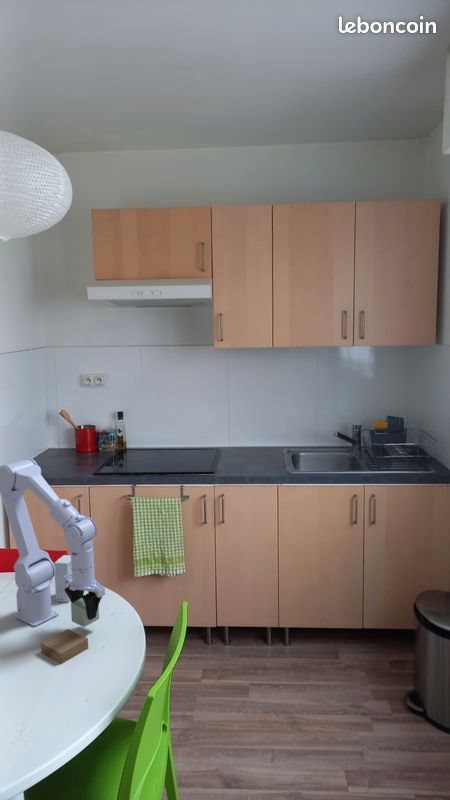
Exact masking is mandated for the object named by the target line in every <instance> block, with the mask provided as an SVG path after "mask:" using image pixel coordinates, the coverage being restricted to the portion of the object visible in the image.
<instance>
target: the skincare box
mask: <svg viewBox="0 0 450 800" xmlns="http://www.w3.org/2000/svg"><path fill="white" fill-rule="evenodd" d="M53 563H54V566H55V576H54V583H55V584H54V587H55V602H59V603H60V602H61V603H62V602H63V603H70V602H71V601H70V599H69V597H68V595H67V594H66V592H65V588H67V587H68V586H69V583H67V584H65V583H64V579H63V576H65V575H67V574H72V570H71V554H70V555H65V554H63V555H62V556H60V557H59V558H58V559H57V560H56V561H55V562H53Z"/></svg>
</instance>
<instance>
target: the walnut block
mask: <svg viewBox="0 0 450 800" xmlns="http://www.w3.org/2000/svg"><path fill="white" fill-rule="evenodd" d="M40 646H41V654H43V655H45V656H47V657H49V658H50V659H52V660H54V661H56V662H57V663H59V664H61V665H62V664H65V663H66V662H67V661H69V660H71V659H73V658H74V657H76V656H78V655H80V654H82V653H84V652H85V651H87V650H89V638H87V637H85V636H83V635H81V634H80V633H77V632H75V631H73V630H71V629H69V628H66V629H64V630H63V631H61V632H59V633H58V634H56V635H53V636H52V637H49V638H48V639H46V640H44V641H42V642H41V643H40Z"/></svg>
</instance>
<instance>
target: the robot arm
mask: <svg viewBox="0 0 450 800" xmlns="http://www.w3.org/2000/svg"><path fill="white" fill-rule="evenodd" d="M26 490H29V491H30V492H32V493H33V494H34V495H35V496H36V497H37V498H38V499H39V500H40V501H41V502H43V504H44V505H46V506H47V507H48V508H49V510H48V515H49V516H50V517H51V518H52V520H53V521H54V522H55V523H56V524H57V525H58V526H59V528H60V529H62V531H64V534H63V537H64V539H65V542H66V543H67V545H68V546H67V547H68V550H69V552H70V556H71V570H72V574H67V575H65V576H63V579H64V583H65V584H67V583H69V586H68V587H67V588H65V592H66V594H67V595H68V597H69V599H70V601H69V602H70V604H71V603H73V602H75V601H77V600H79V599H81V598H82V599H83V600H84V603H85V605H86V610H87V617H88V619H89V620H91V619H93V618H95V617H96V614H97V609H98V605H100V602H101V600H102V599H103V597H104V596H105V595H106V587H104V586H102V585H101V584H100V582H98V580H97V579H95V561H94V557H95V556H94V541H93V540H94V538H96V536H97V533H98V528H97V524H96V522H95V521H94V520H93V518H91V517H86V516H85V515H83V514H82V515H81V514H80V511H79V512H78V510H77V509H76V508H75V507H74V506H73V505H72V503H71V502H70V500H68V499H65V498H60V497H59V496H58V495H57V494H56V492H55V490H54V489H53V488H52V487H51V486H50V484H49V483H48V481H46V480H45V478H44V476H43V475H42V469H41V467H40V466H39V465H38V464H37V462H36V461H35V459H33V458H29V457H28V458H24V459H23V460H19V461H16V462H12V463H9V464H3V465H1V466H0V497H1V500H2V502H3V506H4V509H5V513H6V516H7V519H8V522H9V526H10V529H11V532H12V536H13V538H14V542H15V545H16V548H17V552H18V555H19V557H18V558H17V560H16V561H15V563H14V566H13V570H14V580H15V585H16V586H17V590H16V608H17V613H16V614H14V617H15V618H17V619H19V620H20V621H22V622H24V623H26V624H28V625H29V626H32V627H37V626H39V625H41V624H43V623H45V622H47V621H49V620H51V619H53V618H56V617H57V616H59V612H57V611H55V610H53V609H52V596H51V584H52V582H53V578H55V566H54V563H55V562H53V561H52V559H51V557H50V555H49V553H48V552H47V551H45V550H43V549H40V546H39V542H38V540H37V536H36V533H35V530H34V527H33V523H32V520H31V516H30V514H29V510H28V508H27V507H28V506H27V504H26V501H25V497H24V494H25V492H26ZM85 592H88V593H85ZM84 593H85V594H84Z"/></svg>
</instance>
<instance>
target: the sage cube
mask: <svg viewBox="0 0 450 800" xmlns="http://www.w3.org/2000/svg"><path fill="white" fill-rule="evenodd" d="M99 605H100V604H99ZM99 605H98V609H97V614H96V617H95V618H93V619H91V620H89V619H88V617H87V610H86V605H85V603H84V600H83V599H82V598H81V599H79V600H77V601H75V602H73V603H71V602H70V609H71V610H70V611H71V612H70V615H71V622H72V623H74V624H76V625H78V626H81V627H83V628H85V627H87V626H89V625H91V624H93V623H94V622H96V621H98V620H100V609H99Z"/></svg>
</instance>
